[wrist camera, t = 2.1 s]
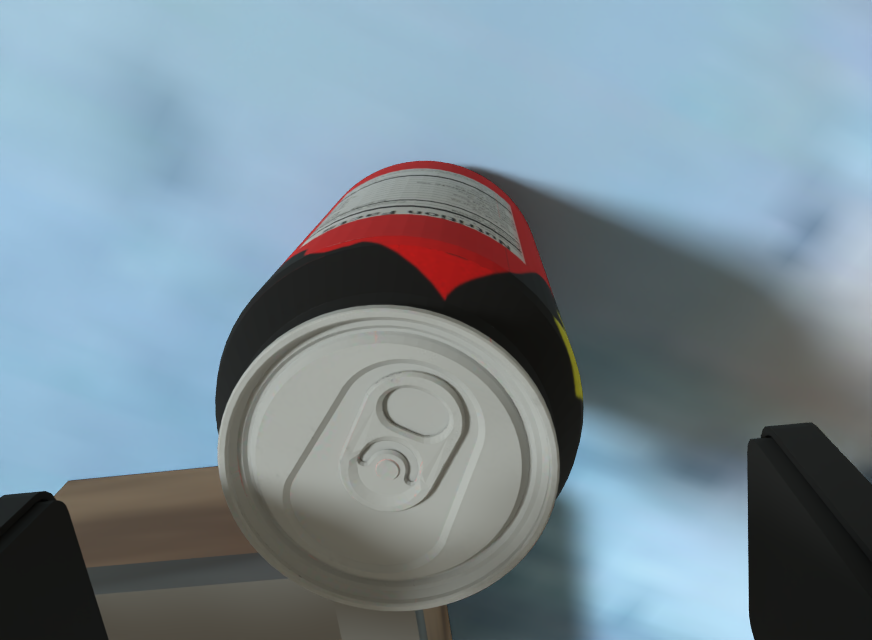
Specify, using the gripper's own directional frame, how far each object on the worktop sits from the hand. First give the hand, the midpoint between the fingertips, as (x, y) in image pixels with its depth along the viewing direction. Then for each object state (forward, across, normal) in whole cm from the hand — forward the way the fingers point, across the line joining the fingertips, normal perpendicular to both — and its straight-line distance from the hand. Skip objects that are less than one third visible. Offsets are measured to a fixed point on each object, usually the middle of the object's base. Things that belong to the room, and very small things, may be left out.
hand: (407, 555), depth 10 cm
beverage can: (+13, 0, -1) cm, 13 cm away
